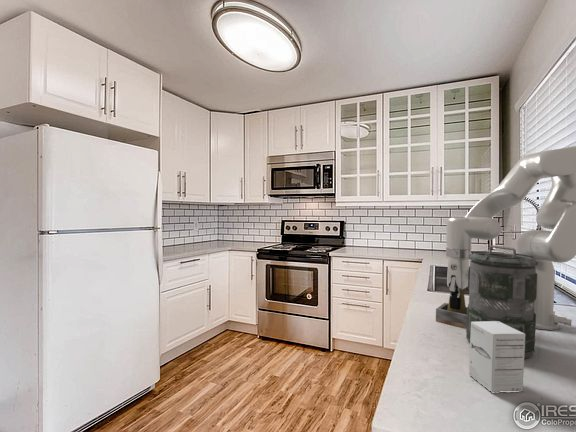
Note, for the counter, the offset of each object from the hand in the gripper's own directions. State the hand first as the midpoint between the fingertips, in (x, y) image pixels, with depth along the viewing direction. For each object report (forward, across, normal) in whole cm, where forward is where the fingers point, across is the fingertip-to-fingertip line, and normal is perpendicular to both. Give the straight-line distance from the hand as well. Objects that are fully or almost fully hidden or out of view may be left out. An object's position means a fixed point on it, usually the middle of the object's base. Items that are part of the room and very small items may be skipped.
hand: (456, 306), depth 108 cm
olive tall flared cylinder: (+3, 0, 0) cm, 3 cm away
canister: (+5, -14, -14) cm, 21 cm away
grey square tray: (+5, 0, 0) cm, 5 cm away
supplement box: (+5, -37, -17) cm, 41 cm away
